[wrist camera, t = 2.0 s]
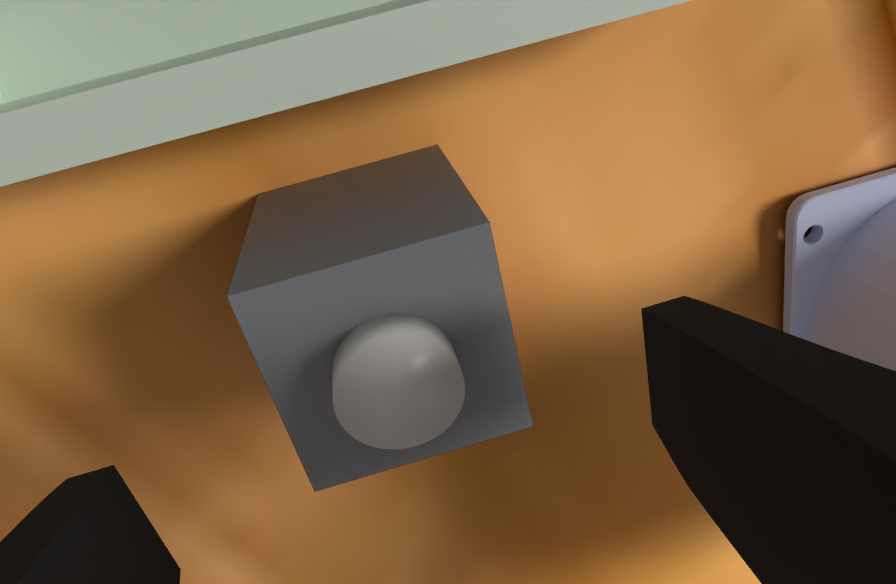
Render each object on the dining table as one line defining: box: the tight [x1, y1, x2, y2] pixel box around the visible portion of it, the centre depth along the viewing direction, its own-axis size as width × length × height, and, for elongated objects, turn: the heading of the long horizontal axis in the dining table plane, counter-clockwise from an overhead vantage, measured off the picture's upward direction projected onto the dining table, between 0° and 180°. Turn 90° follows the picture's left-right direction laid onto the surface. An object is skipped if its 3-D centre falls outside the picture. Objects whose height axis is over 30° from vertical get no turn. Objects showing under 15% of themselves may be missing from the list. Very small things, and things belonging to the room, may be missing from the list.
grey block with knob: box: [227, 145, 533, 492], centre depth 12 cm, size 4×4×6 cm
